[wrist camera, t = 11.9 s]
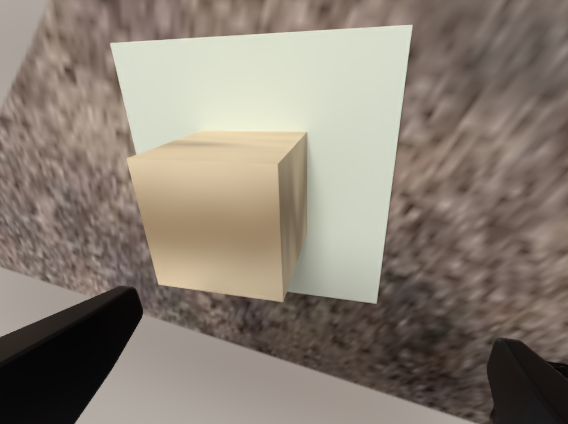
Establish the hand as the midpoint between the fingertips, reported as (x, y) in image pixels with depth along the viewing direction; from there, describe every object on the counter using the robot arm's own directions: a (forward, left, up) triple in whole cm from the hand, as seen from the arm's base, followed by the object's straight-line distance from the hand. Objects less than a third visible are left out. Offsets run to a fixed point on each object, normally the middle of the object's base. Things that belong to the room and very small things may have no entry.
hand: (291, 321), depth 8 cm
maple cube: (0, +4, -10) cm, 11 cm away
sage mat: (0, +4, -11) cm, 12 cm away
